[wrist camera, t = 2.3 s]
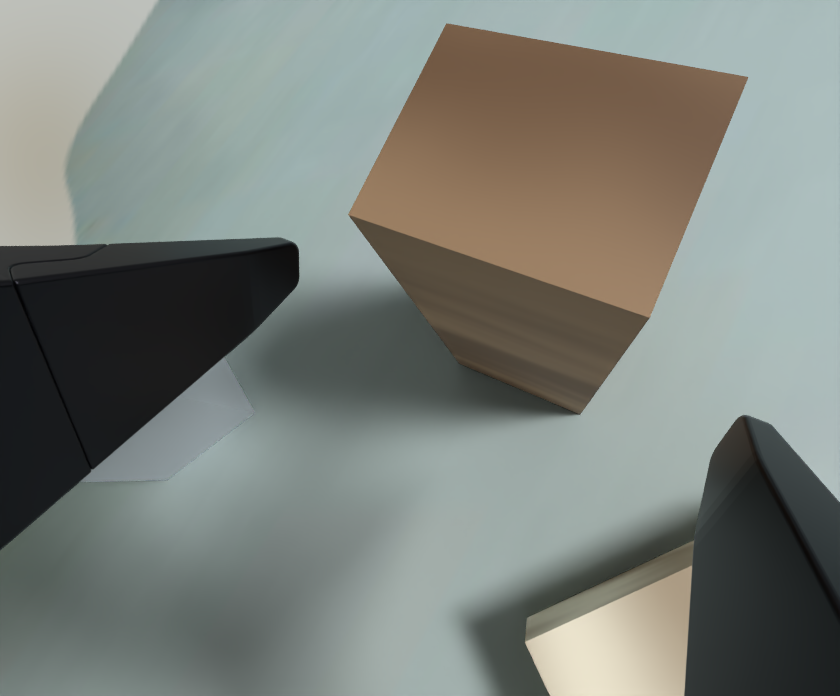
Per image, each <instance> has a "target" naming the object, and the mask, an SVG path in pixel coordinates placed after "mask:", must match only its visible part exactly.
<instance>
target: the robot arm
mask: <svg viewBox="0 0 840 696" xmlns="http://www.w3.org/2000/svg"><path fill="white" fill-rule="evenodd" d="M298 281H299V249H298V247H297V245H296V244H295V243H294V242H291V241H289V240H286V239H283V238H252V239H226V240H200V241H174V242H147V243H121V244H109V245H106V244H93V245H61V246H0V550H1V549H2V548H4V547H5V546H6V545H7V544H8V543H9V542H11V541H12V540H13V539H14V538H15V537H16V536H18V535H19V534H20V533H21V532H22V531H23V530H25V529H26V528H27V527H28V526H29V525H30V524H31V523H33V522H34V521H35V520H36V519H37V518H38V517H40V516H41V515H42V514H43V513H44V512H45V511H47V510H48V509H49V508H50V507H51V506H52V505H54V504H55V503H56V502H57V501H58V500H59V499H61V498H62V497H63V496H64V495H65V494H66V493H67V492H69V491H70V490H71V489H72V488H73V487H74V486H76V485H77V484H78V483H79V482H80V481H81V480H83V479H84V478H85V477H86V476H87V475H88V474H90V473H91V470H93V469H95V468H96V467H97V466H98V465H99V464H101V463H102V462H103V461H104V460H105V459H106V458H108V457H109V456H110V455H111V454H112V453H113V452H115V451H116V450H117V449H118V448H119V447H120V446H122V445H123V444H124V443H125V442H126V441H127V440H129V439H130V438H131V437H132V436H133V435H134V434H135V433H137V432H138V431H139V430H140V429H141V428H142V427H144V426H145V425H146V424H147V423H148V422H149V421H151V420H152V419H153V418H154V417H155V416H156V415H158V414H159V413H160V412H161V411H162V410H163V409H165V408H166V407H167V406H168V405H169V404H170V403H172V402H173V401H174V400H175V399H176V398H177V397H179V396H180V395H181V394H182V393H183V392H184V391H185V390H187V389H188V388H189V387H190V386H191V385H192V384H194V383H195V382H196V381H197V380H198V379H199V378H201V377H202V376H203V375H204V374H205V373H206V372H208V371H209V370H210V369H211V368H212V367H213V366H215V365H216V364H217V363H218V362H219V361H220V360H222V359H223V358H224V357H225V356H226V355H227V354H229V353H230V352H231V351H232V350H233V349H234V348H235V347H237V346H238V345H239V344H240V343H241V342H242V341H244V340H245V339H246V338H247V337H248V336H249V335H250V334H252V333H253V332H254V331H255V330H256V329H257V328H258V327H259V326H260V325H261V324H262V323H263V322H264V321H265V320H266V318H267V317H268V316H269V315H270V314H271V313H272V312H273V311H274V310H275V309H276V308H277V307H278V306H279V305H280V304H281V303H282V302H283V300H284V299H285V298H286V297H287V296H288V295H289V294H290V293H291V292H292V291H293V290H294V289H295V288H296V286H297V284H298ZM684 696H840V502H839V501H838V500H837V499H836V498H835V497H834V495H833V494H832V493H831V492H830V491H829V490H828V489H827V487H826V486H825V485H824V484H823V483H822V482H821V481H820V479H819V478H818V477H817V476H816V475H815V474H814V473H813V471H812V470H811V469H810V468H809V467H808V466H807V465H806V464H805V462H804V461H803V460H802V459H801V458H800V457H799V456H798V454H797V453H796V452H795V451H794V450H793V449H792V448H791V446H790V445H789V444H788V443H787V442H786V441H785V440H784V438H783V437H782V436H781V435H780V434H779V433H778V432H777V431H776V429H775V428H774V427H773V426H772V425H771V424H769V423H767V422H764V421H761V420H759V419H756V418H753V417H751V416H748V415H742V416H740V417H739V418H738V419H736V421H735V422H734V423H733V425H732V426H731V428H730V429H729V430H728V432H727V433H726V434H725V436H724V437H723V439H722V440H721V441H720V443H719V444H718V446H717V447H716V448H715V450H714V452H713V454H712V457H711V459H710V463H709V468H708V473H707V478H706V482H705V487H704V492H703V497H702V501H701V506H700V511H699V515H698V520H697V525H696V530H695V536H694V546H693V560H692V576H691V593H690V609H689V626H688V642H687V658H686V675H685V691H684Z"/></svg>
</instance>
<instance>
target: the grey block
mask: <svg viewBox="0 0 840 696" xmlns="http://www.w3.org/2000/svg"><path fill="white" fill-rule="evenodd" d="M253 414H255V411H254V409H253V408H252V406H251V404H250V402H249V400H248V398H247V397H246V395H245V393H244V391H243V389H242V388H241V386H240V384H239V382H238V380H237V379H236V377H235V375H234V373H233V371H232V370H231V368H230V366H229V364H228V362H227V360H226V359H225V357H224V358H223V359H222V360H220V361H219V362H218V363H217V364H216V365H215V366H213V367H212V368H211V369H210V370H209V371H208V372H206V373H205V374H204V375H203V376H202V377H201V378H199V379H198V380H197V381H196V382H195V383H194V384H192V385H191V386H190V387H189V388H188V389H187V390H185V391H184V392H183V393H182V394H181V395H180V396H179V397H177V398H176V399H175V400H174V401H173V402H172V403H170V404H169V405H168V406H167V407H166V408H165V409H163V410H162V411H161V412H160V413H159V414H158V415H156V416H155V417H154V418H153V419H152V420H151V421H149V422H148V423H147V424H146V425H145V426H144V427H142V428H141V429H140V430H139V431H138V432H137V433H135V434H134V435H133V436H132V437H131V438H130V439H129V440H127V441H126V442H125V443H124V444H123V445H122V446H120V447H119V448H118V449H117V450H116V451H115V452H113V453H112V454H111V455H110V456H109V457H108V458H106V459H105V460H104V461H103V462H102V463H101V464H99V465H98V466H97V467H96V468H95V469H93V470H91V473H90V474H88V475H87V476H86V477H85V478H84V479H83V480H81V481H80V482H113V481H155V480H169V479H170V478H171V477H172V476H174V475H175V474H176V473H178V472H179V471H180V470H182V469H183V468H184V467H186V466H187V465H188V464H189V463H191V462H192V461H193V460H195V459H196V458H197V457H199V456H200V455H201V454H202V453H204V452H205V451H206V450H208V449H209V448H210V447H212V446H213V445H214V444H215V443H217V442H218V441H219V440H221V439H222V438H223V437H225V436H226V435H227V434H228V433H230V432H231V431H232V430H234V429H235V428H236V427H238V426H239V425H240V424H242V423H243V422H244V421H245V420H247V419H248V418H249V417H251V416H252V415H253Z"/></svg>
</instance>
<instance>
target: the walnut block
mask: <svg viewBox="0 0 840 696" xmlns="http://www.w3.org/2000/svg"><path fill="white" fill-rule="evenodd" d="M747 79H748V77H745V76H739V75H734V74H728V73H723V72H717V71H711V70H706V69H700V68H694V67H689V66H683V65H677V64H672V63H666V62H661V61H655V60H649V59H644V58H638V57H632V56H627V55H621V54H616V53H610V52H604V51H599V50H593V49H587V48H582V47H576V46H571V45H565V44H559V43H554V42H548V41H542V40H537V39H531V38H526V37H520V36H514V35H509V34H503V33H497V32H492V31H486V30H480V29H475V28H469V27H464V26H458V25H452V24H447V23H446V25H445V27H444V29H443V31H442V33H441V35H440V37H439V39H438V41H437V43H436V45H435V47H434V49H433V51H432V53H431V55H430V57H429V58H428V60H427V62H426V64H425V66H424V68H423V70H422V72H421V74H420V76H419V78H418V80H417V82H416V84H415V86H414V88H413V90H412V92H411V94H410V95H409V97H408V99H407V101H406V103H405V105H404V107H403V109H402V111H401V113H400V115H399V117H398V119H397V121H396V123H395V125H394V127H393V129H392V130H391V132H390V134H389V136H388V138H387V140H386V142H385V144H384V146H383V148H382V150H381V152H380V154H379V156H378V158H377V160H376V162H375V164H374V166H373V167H372V169H371V171H370V173H369V175H368V177H367V179H366V181H365V183H364V185H363V187H362V189H361V191H360V193H359V195H358V197H357V199H356V201H355V202H354V204H353V206H352V208H351V210H350V212H349V214H348V215H349V216H350V218H351V219H352V220H353V222H354V223H355V224H356V226H357V227H358V228H359V230H360V231H361V232H362V234H363V235H364V236H365V238H366V239H367V241H368V242H369V243H370V245H371V246H372V247H373V249H374V250H375V251H376V253H377V254H378V255H379V257H380V258H381V259H382V261H383V262H384V263H385V265H386V266H387V267H388V269H389V270H390V271H391V273H392V274H393V275H394V277H395V278H396V279H397V281H398V282H399V283H400V285H401V286H402V287H403V289H404V290H405V291H406V293H407V294H408V295H409V297H410V298H411V299H412V301H413V302H414V304H415V305H416V306H417V308H418V309H419V310H420V312H421V313H422V314H423V316H424V317H425V318H426V320H427V321H428V322H429V324H430V325H431V326H432V328H433V329H434V330H435V332H436V333H437V334H438V336H439V337H440V338H441V340H442V341H443V342H444V344H445V345H446V346H447V348H448V349H449V350H450V352H451V353H452V354H453V356H454V357H455V358H456V360H457V361H458V363H459V364H461V365H464V366H466V367H468V368H471V369H473V370H476V371H478V372H480V373H483V374H485V375H487V376H490V377H492V378H494V379H497V380H499V381H502V382H504V383H506V384H509V385H511V386H513V387H516V388H518V389H521V390H523V391H525V392H528V393H530V394H532V395H535V396H537V397H539V398H542V399H544V400H547V401H549V402H551V403H554V404H556V405H558V406H561V407H563V408H565V409H568V410H570V411H573V412H575V413H577V414H581V413H582V411H583V410H584V408H585V407H586V406H587V404H588V403H589V401H590V400H591V399H592V397H593V396H594V395H595V393H596V392H597V390H598V389H599V388H600V386H601V385H602V383H603V382H604V381H605V379H606V378H607V376H608V375H609V374H610V372H611V371H612V369H613V368H614V367H615V365H616V364H617V362H618V361H619V360H620V358H621V357H622V356H623V354H624V353H625V351H626V350H627V349H628V347H629V346H630V344H631V343H632V342H633V340H634V339H635V337H636V336H637V335H638V333H639V332H640V330H641V329H642V328H643V326H644V325H645V323H646V322H647V321H648V319H649V318H650V316H651V313H652V311H653V308H654V306H655V303H656V301H657V298H658V296H659V294H660V291H661V289H662V286H663V284H664V281H665V279H666V277H667V274H668V272H669V269H670V267H671V264H672V262H673V260H674V257H675V255H676V252H677V250H678V247H679V245H680V242H681V240H682V238H683V235H684V233H685V230H686V228H687V225H688V223H689V221H690V218H691V216H692V213H693V211H694V208H695V206H696V203H697V201H698V199H699V196H700V194H701V191H702V189H703V186H704V184H705V182H706V179H707V177H708V174H709V172H710V169H711V167H712V164H713V162H714V160H715V157H716V155H717V152H718V150H719V147H720V145H721V143H722V140H723V138H724V135H725V133H726V130H727V128H728V125H729V123H730V121H731V118H732V116H733V113H734V111H735V108H736V106H737V104H738V101H739V99H740V96H741V94H742V91H743V89H744V86H745V84H746V82H747Z"/></svg>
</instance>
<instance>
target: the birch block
mask: <svg viewBox="0 0 840 696" xmlns="http://www.w3.org/2000/svg"><path fill="white" fill-rule="evenodd" d="M693 546H694V540H693V541H691V542H689V543H687V544H685V545H683V546H680V547H678V548H676V549H674V550H672V551H670V552H667V553H665V554H663V555H661V556H659V557H657V558H654V559H652V560H650V561H648V562H646V563H644V564H642V565H639V566H637V567H635V568H633V569H631V570H629V571H626V572H624V573H622V574H620V575H618V576H616V577H613V578H611V579H609V580H607V581H605V582H603V583H601V584H598V585H596V586H594V587H592V588H590V589H588V590H585V591H583V592H581V593H579V594H577V595H575V596H572V597H570V598H568V599H566V600H564V601H562V602H559V603H557V604H555V605H553V606H551V607H549V608H547V609H544V610H542V611H540V612H538V613H536V614H534V615H531V616H529V617H527V623H526V635H525V643H526V646H527V648H528V650H529V652H530V654H531V656H532V658H533V661H534V663H535V665H536V667H537V669H538V671H539V673H540V676H541V678H542V680H543V682H544V684H545V686H546V688H547V690H548V693H549V695H550V696H684V691H685V675H686V658H687V642H688V626H689V609H690V593H691V576H692V560H693Z"/></svg>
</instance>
